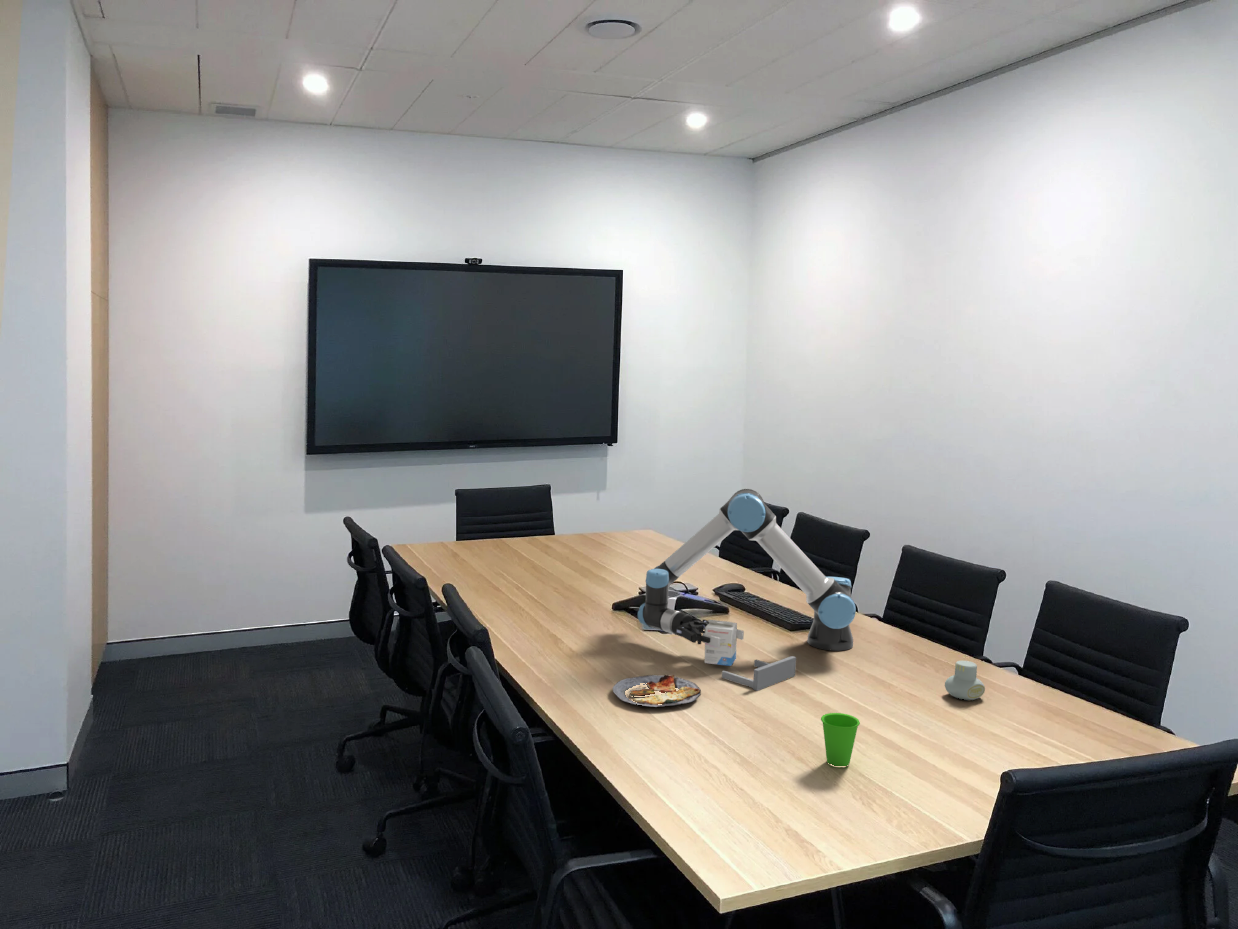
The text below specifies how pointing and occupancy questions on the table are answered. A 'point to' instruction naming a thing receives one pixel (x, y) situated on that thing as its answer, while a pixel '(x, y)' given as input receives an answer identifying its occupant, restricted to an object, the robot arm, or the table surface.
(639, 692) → the food plate
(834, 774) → the table surface
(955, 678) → the air freshener
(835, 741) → the cup
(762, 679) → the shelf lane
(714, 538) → the robot arm
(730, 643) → the ink box
